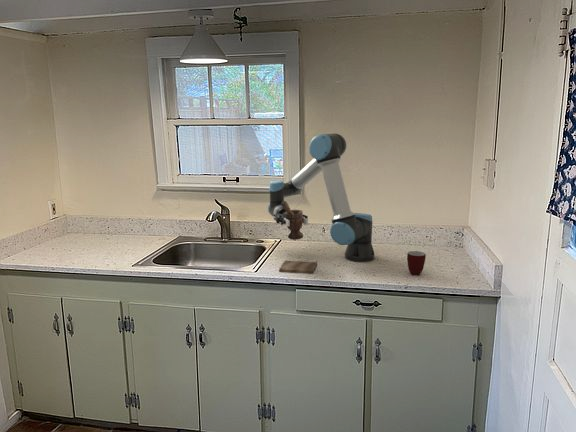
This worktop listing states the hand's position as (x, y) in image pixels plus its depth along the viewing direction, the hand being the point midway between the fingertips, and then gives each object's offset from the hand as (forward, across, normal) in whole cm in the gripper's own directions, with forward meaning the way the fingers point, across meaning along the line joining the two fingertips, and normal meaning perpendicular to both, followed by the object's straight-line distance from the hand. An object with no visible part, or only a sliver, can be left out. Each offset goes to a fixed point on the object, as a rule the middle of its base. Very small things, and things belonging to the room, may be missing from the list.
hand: (298, 222), depth 226 cm
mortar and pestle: (-5, 0, -9) cm, 10 cm away
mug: (+27, -48, -22) cm, 59 cm away
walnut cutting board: (+1, 0, -22) cm, 22 cm away
